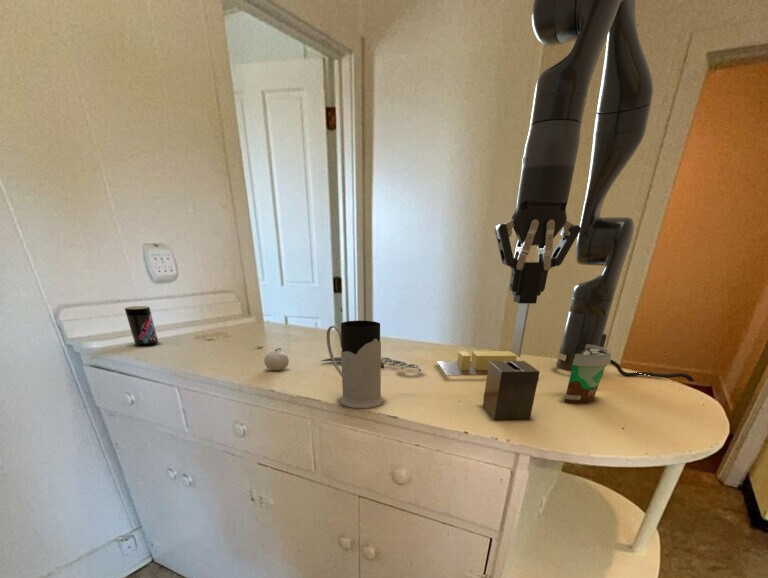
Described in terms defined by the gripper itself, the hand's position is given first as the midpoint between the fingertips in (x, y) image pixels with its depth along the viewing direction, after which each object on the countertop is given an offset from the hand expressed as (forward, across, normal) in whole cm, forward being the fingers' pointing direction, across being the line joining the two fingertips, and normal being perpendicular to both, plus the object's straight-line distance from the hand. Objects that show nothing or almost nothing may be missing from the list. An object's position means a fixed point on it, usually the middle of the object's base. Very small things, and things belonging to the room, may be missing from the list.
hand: (526, 294), depth 73 cm
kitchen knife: (+10, 0, 0) cm, 10 cm away
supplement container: (+21, -93, +65) cm, 115 cm away
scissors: (+21, -24, +36) cm, 48 cm away
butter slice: (+20, -2, +30) cm, 36 cm away
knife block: (+21, 0, 0) cm, 21 cm away
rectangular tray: (+21, +4, +30) cm, 37 cm away
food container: (+21, +20, +8) cm, 30 cm away
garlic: (+21, -49, +34) cm, 63 cm away
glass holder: (+21, -30, +10) cm, 38 cm away
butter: (+20, +6, +30) cm, 36 cm away
